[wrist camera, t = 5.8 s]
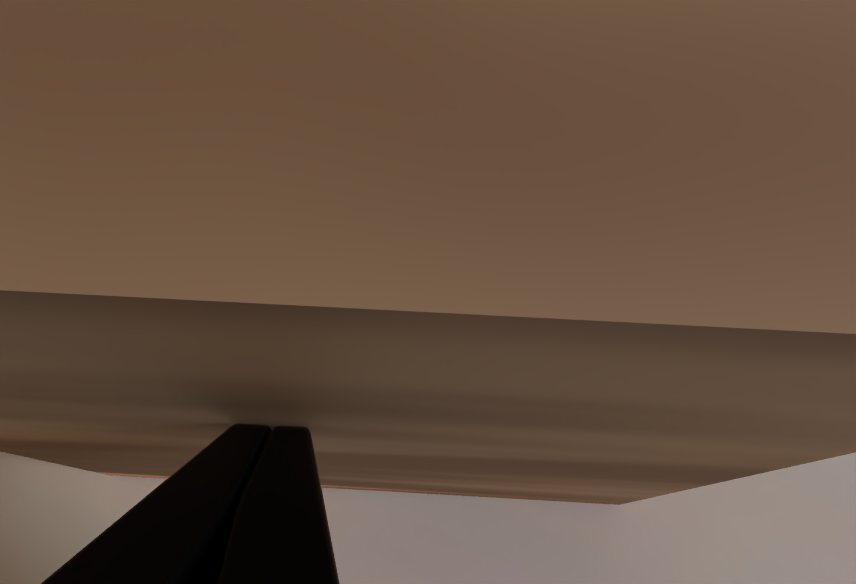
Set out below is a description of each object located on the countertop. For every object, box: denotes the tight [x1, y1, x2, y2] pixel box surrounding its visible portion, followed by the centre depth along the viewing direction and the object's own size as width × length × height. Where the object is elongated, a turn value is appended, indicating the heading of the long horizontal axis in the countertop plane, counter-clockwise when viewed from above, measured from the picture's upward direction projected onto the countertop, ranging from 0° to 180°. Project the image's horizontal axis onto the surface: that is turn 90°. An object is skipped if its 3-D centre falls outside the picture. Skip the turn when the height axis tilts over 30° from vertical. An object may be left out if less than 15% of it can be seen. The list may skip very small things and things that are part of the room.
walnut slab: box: [0, 0, 856, 505], centre depth 11 cm, size 3×12×14 cm, turn 87°
